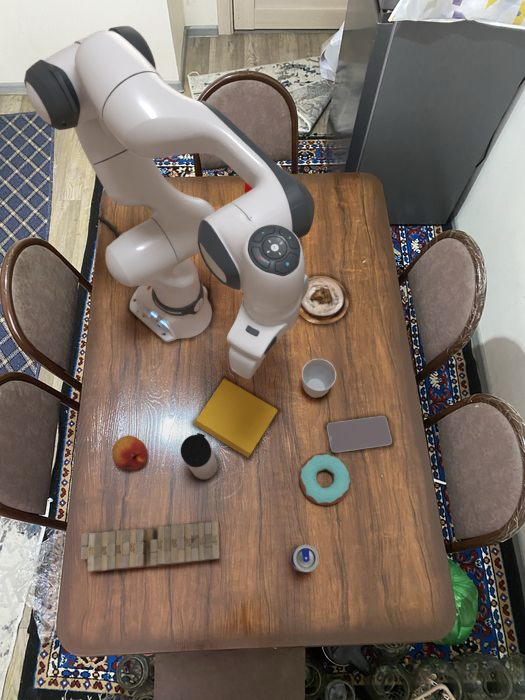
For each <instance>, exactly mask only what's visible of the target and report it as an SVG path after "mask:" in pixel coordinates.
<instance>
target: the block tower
mask: <svg viewBox="0 0 525 700" xmlns="http://www.w3.org/2000/svg"><path fill="white" fill-rule="evenodd" d="M220 537H221V536H220V522H219V521H218V520H213V521H206V522H198V523H196V522H195V523H185V524H175V525H173V524H172V525H168V526H167V525H166V526H165V525H158V526H157V529H155V528H147V529H144V528H131V529H125V530H124V529H120V530H111V531H102V532H100V531H99V532H90V533H88V532H83V533H81V537H80V538H81V539H80V546H81V547H80V559H81V560H86V561H87V566H86V571H87V572H105V571H107V572H108V571H112V570H130V569H139V568H140V569H141V568H150V567H163V566H168V565H180V564H182V565H183V564H190V563H197V562H204V561H213V560H214V561H215V560H220V559H221V542H220Z"/></svg>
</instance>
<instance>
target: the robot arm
mask: <svg viewBox="0 0 525 700" xmlns="http://www.w3.org/2000/svg"><path fill="white" fill-rule="evenodd" d="M155 61H156V60H155V58H154V55H153V52H152V50H151V48H150V46H149V44H148V42H147V40H146V39H145V37H144V36H143V35H142V34H141V33H140V32H139V31H138V30H137V29H135V28H134V27H133V26H129V25H120V26H119V25H118V26H114V27H110V28H108V30H98V31H95V32H93V33H91V34H89V35H87V36H86V37H83V38H80V39H77V40H75V41H74V42H73V44H70V45H68V46H66V47H63V48H62V49H60V50H58V51H57V52H55V53H53V54H51V55H50V56H48V57H46V58H45V59H39V60H37V61H36V62H35V63H33V64H32V65H30V66H29V67H28V68H27V70H26V71H25V74H24V80H23V82H24V86H25V90H26V95H27V98H28V101H29V103H30V105H31V107H32V109H33V110H34V112H35V113H36V114H37V116H39V117H40V119H42V120H43V122H45V124H47V125H48V126H49V127H51V128H52V129H55V130H57V131H64V130H69V129H74V131H75V134H76V136H77V139H78V141H79V144H80V146H81V148H82V150H83V152H84V155H85V157H86V159H87V160H88V162H89V164H90V165H91V168H92V169H93V171H94V173H95V175H96V177H97V178H98V181H99V182H100V184H101V185H102V187H103V189H104V191H105V193H106V194H107V196H108V198H109V199H110V200H111V201H112V202H113V203H115V204H116V205H119V206H123V207H146V208H147V209H148V210H149V211H150V212H151V215H152V216H151V217H150V218H148V219H146V220H145V221H143V222H141V223H139V224H136V225H135V226H134V227H132V228H130V229H128V230H126V231H125V232H123V233H121V234H119V232H118V230H117V229H116V228H115V226H114V225H112V224H111V222H109V221H108V220H107V219H106V218H104V217H102V216H99V215H98V216H97V217H96V220H98V221H101V222H102V223H104V224H105V225H106V226H107V227H109V229H111V231H112V232H113V234H114V235H115V237H116V239H115V240H113V241H112V242H111V243H110V244H109V245H108V246H106V248H105V255H104V261H105V265H106V268H107V271H108V272H109V273H110V276H112V278H113V279H114V280H115V281H117V282H118V283H120V284H121V285H123V286H126V287H128V288H129V287H130V288H135V287H137V288H136V290H135V291H134V293H133V294H132V296H131V299H130V302H129V310H130V312H132V314H133V315H134V316H136V318H138V319H139V320H140V321H141V322H142V323H143V324H144V325H146V327H148V328H149V329H150V330H151V331H152V332H153V333H155V334H156V335H157V336H158V337H159V338H160V339H161V340H163V342H164V343H170V342H173V341H176V340H177V339H178V340H179V339H189V338H190V339H191V338H194V337H196V336H198V335H200V334H202V333H203V332H204V331H205V330H206V329H207V328H208V326H209V325H210V323H211V321H212V317H213V310H212V306H211V303H210V301H209V298H208V290H207V288H206V286H204V285H203V283H202V280H201V278H200V277H199V274H198V267H197V265H196V264H195V262H194V261H193V259H192V257H194V256H196V255H197V254H199V253H200V256H201V258H202V261H203V263H204V265H205V266H206V268H207V269H208V270H209V272H210V273H211V275H212V276H213V277H214V278H215V279H216V280H217V281H218V282H220V283H221V284H222V285H224V286H227V287H229V288H231V289H233V290H236V291H242V292H243V296H242V297H243V299H242V301H241V304H240V306H239V309H238V313H237V315H236V317H235V319H234V321H233V323H232V325H231V327H230V328H229V331H228V333H227V335H226V342H227V343H228V344H229V345H230V346H229V349H228V361H229V367H230V370H231V371H233V372H234V373H235V374H236V375H238V376H240V377H241V378H243V379H246V380H250V379H252V378H253V376H254V374H255V372H256V371H257V370H258V368H259V367H260V366H261V365H262V363H263V362H264V359H265V358H266V356H267V354H268V353H269V352H270V350H271V349H272V348H273V347H274V345H275V344H276V343H277V342H278V340H280V339H281V338H282V337H283V336H284V335H285V334H286V333H287V332H288V331H290V330H291V329H292V328H293V327H294V326H295V325H296V324H297V322H298V320H299V317H300V314H299V312H300V305H301V301H302V300H303V298H304V297H305V295H306V293H307V291H308V286H309V275H308V274H306V261H305V254H304V250H303V247H302V244H301V241H300V239H301V238H303V237H305V236H307V235H308V234H309V233H310V231H311V228H312V225H313V222H314V219H315V208H316V207H315V206H316V205H315V199H314V198H313V195H312V193H311V192H310V190H309V189H308V188H307V186H306V185H305V184H304V183H303V182H302V181H301V180H300V179H299V178H297V177H296V176H295V175H293V174H291V173H290V172H289V171H287V170H286V169H284V168H282V167H281V166H280V165H279V164H278V163H276V162H275V161H274V160H273V159H272V158H271V157H270V156H269V155H268V154H266V152H265V151H264V150H262V148H260V147H259V146H258V145H257V144H256V143H255V142H254V141H253V140H252V139H251V138H250V137H249V136H248V135H246V133H244V132H243V131H242V130H241V129H240V128H239V127H238V126H237V125H236V124H235V123H233V122H232V121H231V119H229V118H228V117H227V115H225V114H224V113H223V112H221V111H220V109H218V108H216V106H215V105H213V104H212V103H210V102H208V101H206V100H201V99H195V98H191V97H189V96H187V95H185V94H183V93H181V92H179V91H178V90H176V89H175V88H173V87H172V86H171V85H169V84H168V83H167V82H166V81H165V79H164V78H163V77H162V76H161V75H160V73H159V71H158V70H157V67H156V62H155ZM187 154H188V155H189V154H206V155H207V154H208V155H212V156H214V157H217V158H219V159H220V160H221V161H223V163H225V164H226V165H227V167H229V168H230V169H231V170H232V171H234V173H235V174H237V175H238V176H239V177H240V178H241V179H242V181H244V183H245V182H246V183H247V184H248V185H249V186H250V187H252V188H253V189H252V190H250V191H249V192H247V193H245V192H244V193H243V194H242V195H241V196H239V197H237V198H236V199H233V200H232V201H230V202H229V203H227V204H224V205H223V206H221V207H220V208H218V209H215V207H214V206H213V205H212V204H211V203H210V202H209V201H207V200H205V199H204V198H200V197H196V196H192V195H189V194H186V193H184V192H182V191H180V190H178V189H177V188H175V187H174V185H172V184H171V183H170V182H169V181H168V180H167V179H166V178H165V176H164V175H163V174H162V172H161V171H160V169H159V167H158V165H157V164H156V162H155V160H154V159H166V158H170V157H175V156H180V155H187Z"/></svg>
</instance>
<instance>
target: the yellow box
mask: <svg viewBox="0 0 525 700" xmlns="http://www.w3.org/2000/svg"><path fill="white" fill-rule="evenodd" d="M278 411H279V410H278V409H277V408H276V407H274V406H272V405H270V404H269V403H267V402H265V401H264V400H262V399H260V398H258V397H257V396H255V395H253V394H251V393H250V392H248V391H246V390H245V389H244V388H241V387H240V386H238V385H236V384H235V383H233V382H231V381H230V380H228V379H227V378H223V379H222V381H221V382H220V384H219V386H217V388H216V389H215V391H214V393H213V394H212V396H211V397H210V399H208V401H207V403H206V404H205V406H204V407H203V409H202V410H201V412H200V413H199V415H198V416H197V417H196V419H195V420H194V422H193V423H192V424H193V426H195V427H197V428H198V429H200V430H201V431H203V432H204V433H207V434H208V435H209V436H211V437H213V438H214V439H216V440H218V441H219V442H221V443H222V444H224V445H226V446H227V447H229V448H231V449H232V450H234V451H236V452H237V453H239V454H241V456H243V457H245V458H246V459H249V458H250V456H251V455H252V453H253V452H254V450H255V449H256V447H257V445H258V444H259V442H260V440H261V439H262V438H263V435H264V434H265V432H266V431H267V429H268V428H269V426H270V425H271V423H272V421H273V419H274V418H275V416H276V415H277V413H278Z"/></svg>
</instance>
